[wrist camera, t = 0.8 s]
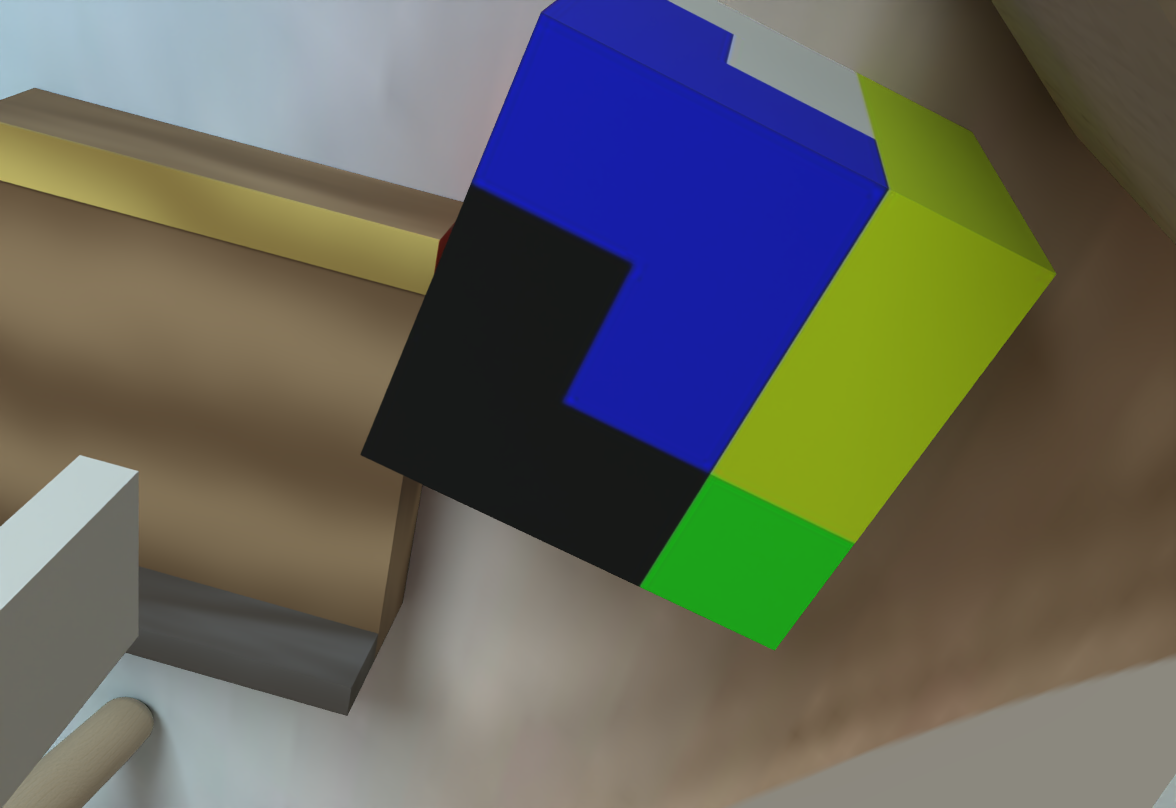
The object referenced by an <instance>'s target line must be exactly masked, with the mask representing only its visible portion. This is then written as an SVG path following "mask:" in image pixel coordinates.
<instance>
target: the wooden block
mask: <svg viewBox="0 0 1176 808" xmlns="http://www.w3.org/2000/svg"><path fill="white" fill-rule="evenodd" d="M991 1H992V3H993V4H994V6H995V7H996V9H997V11H998V12H999V14H1000V15H1001V17H1002V19H1003V20H1004V22H1005V23H1006V25H1007V27H1008V28H1009V30H1010V31H1011V33H1012V35H1013V36H1014V38H1015V39H1016V41H1017V43H1018V44H1019V46H1020V47H1021V49H1022V51H1023V52H1024V54H1025V55H1026V57H1027V59H1028V60H1029V62H1030V63H1031V65H1032V67H1033V68H1034V70H1035V72H1036V73H1037V75H1038V76H1039V78H1040V80H1041V81H1042V83H1043V84H1044V86H1045V88H1046V89H1047V91H1048V92H1049V94H1050V96H1051V97H1052V99H1053V100H1054V102H1055V104H1056V105H1057V107H1058V108H1059V110H1060V112H1061V113H1062V115H1063V116H1064V118H1065V120H1066V121H1067V123H1068V124H1069V126H1070V128H1071V129H1072V131H1073V132H1074V134H1075V135H1076V136H1077V137H1078V139H1079V140H1080V141H1081V142H1082V143H1083V144H1084V145H1085V146H1086V147H1087V148H1088V149H1089V151H1090V152H1091V153H1092V154H1093V155H1094V156H1095V157H1096V158H1097V159H1098V160H1099V162H1100V163H1101V164H1102V165H1103V166H1104V167H1105V168H1106V169H1107V170H1108V171H1109V172H1110V174H1111V175H1112V176H1113V177H1114V178H1115V179H1116V180H1117V181H1118V182H1119V183H1120V184H1121V186H1122V187H1123V188H1124V189H1125V190H1126V191H1127V192H1128V193H1129V194H1130V195H1131V197H1132V198H1133V199H1134V200H1135V201H1136V202H1137V203H1138V204H1139V205H1140V206H1141V207H1142V209H1143V210H1144V211H1145V212H1146V213H1147V214H1148V215H1149V216H1150V217H1151V218H1152V219H1153V221H1154V222H1155V223H1156V224H1157V225H1158V226H1159V227H1160V228H1161V229H1162V230H1163V231H1164V233H1165V234H1166V235H1167V236H1168V237H1169V238H1170V239H1171V240H1172V241H1173V242H1174V244H1175V245H1176V0H991Z"/></svg>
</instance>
